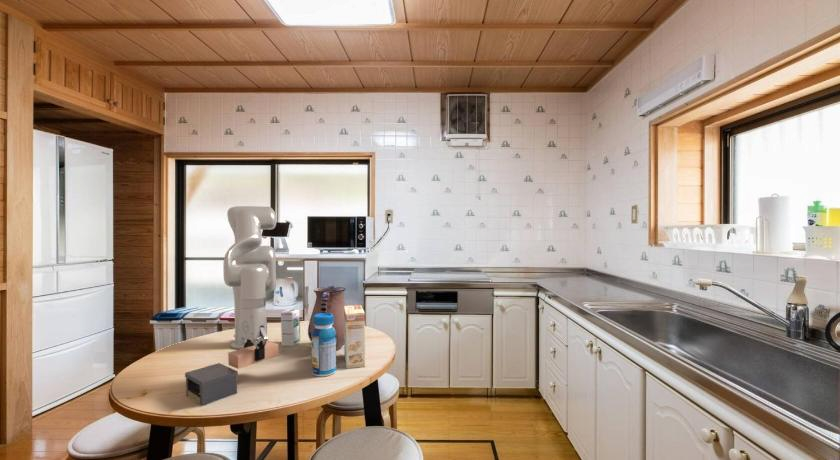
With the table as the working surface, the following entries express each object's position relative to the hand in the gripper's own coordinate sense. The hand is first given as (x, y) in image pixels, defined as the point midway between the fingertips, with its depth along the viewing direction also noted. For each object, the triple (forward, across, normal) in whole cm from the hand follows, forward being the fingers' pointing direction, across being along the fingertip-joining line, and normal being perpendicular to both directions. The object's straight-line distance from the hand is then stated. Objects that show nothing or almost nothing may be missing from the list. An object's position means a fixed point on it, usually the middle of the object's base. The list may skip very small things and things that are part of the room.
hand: (254, 357), depth 123 cm
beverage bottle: (+8, +14, +18) cm, 24 cm away
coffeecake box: (+8, +14, +32) cm, 35 cm away
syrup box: (+7, -24, +30) cm, 39 cm away
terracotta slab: (+1, 0, 0) cm, 1 cm away
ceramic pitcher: (+7, -4, +35) cm, 36 cm away
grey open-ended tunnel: (+8, 0, -12) cm, 15 cm away
